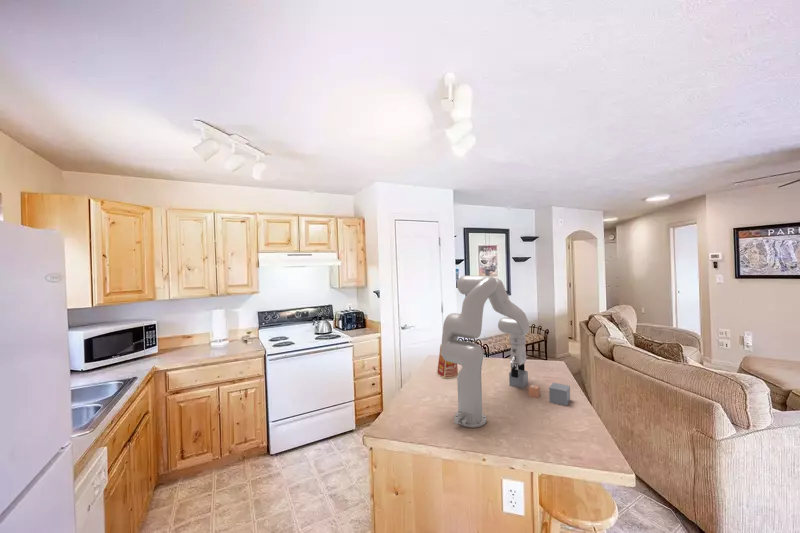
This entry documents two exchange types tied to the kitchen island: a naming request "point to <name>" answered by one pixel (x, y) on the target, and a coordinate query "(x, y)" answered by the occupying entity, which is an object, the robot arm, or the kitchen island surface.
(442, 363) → the milk carton
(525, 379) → the gray cube
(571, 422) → the kitchen island surface
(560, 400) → the grey block
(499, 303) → the robot arm
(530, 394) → the letter cube
